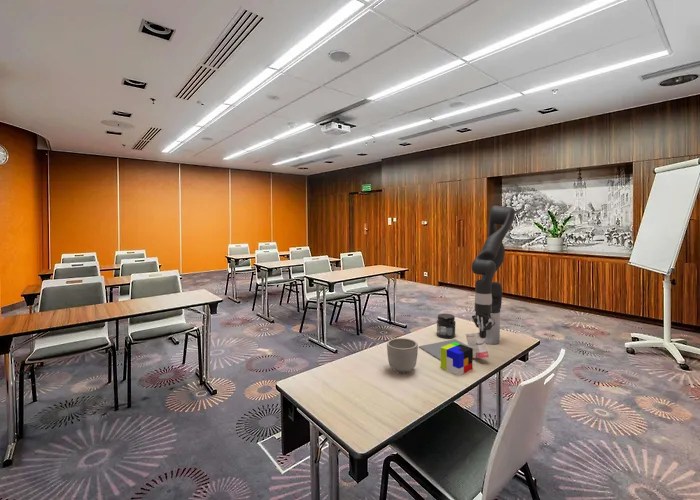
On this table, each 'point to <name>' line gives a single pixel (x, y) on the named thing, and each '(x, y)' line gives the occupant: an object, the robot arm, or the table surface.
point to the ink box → (477, 345)
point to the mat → (438, 347)
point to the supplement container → (446, 325)
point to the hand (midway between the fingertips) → (482, 337)
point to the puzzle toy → (456, 358)
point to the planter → (402, 354)
